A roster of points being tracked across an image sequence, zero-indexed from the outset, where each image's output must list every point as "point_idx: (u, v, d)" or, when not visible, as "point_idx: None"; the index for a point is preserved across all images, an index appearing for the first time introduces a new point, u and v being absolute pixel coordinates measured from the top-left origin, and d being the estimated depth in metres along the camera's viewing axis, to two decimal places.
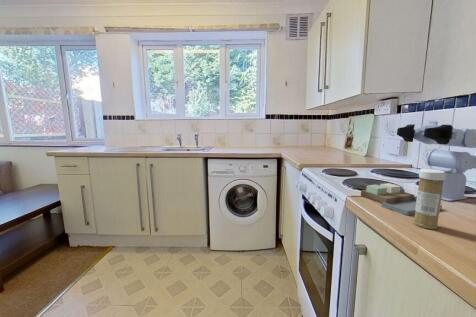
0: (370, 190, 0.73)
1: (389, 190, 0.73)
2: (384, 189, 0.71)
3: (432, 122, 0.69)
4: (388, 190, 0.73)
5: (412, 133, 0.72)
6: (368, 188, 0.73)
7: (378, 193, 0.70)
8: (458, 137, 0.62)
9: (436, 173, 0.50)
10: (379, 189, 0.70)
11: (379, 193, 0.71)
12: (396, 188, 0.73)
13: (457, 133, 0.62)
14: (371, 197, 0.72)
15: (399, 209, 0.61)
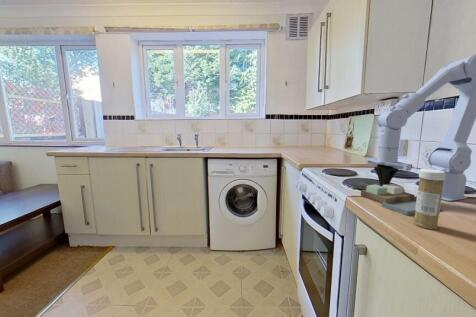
0: (370, 190, 0.73)
1: (392, 191, 0.72)
2: (384, 189, 0.71)
3: None
4: (391, 191, 0.72)
5: None
6: (368, 188, 0.73)
7: (378, 193, 0.70)
8: (410, 167, 0.69)
9: (436, 173, 0.50)
10: (379, 189, 0.70)
11: (379, 193, 0.71)
12: (399, 189, 0.72)
13: (407, 170, 0.69)
14: (371, 197, 0.72)
15: (399, 209, 0.61)
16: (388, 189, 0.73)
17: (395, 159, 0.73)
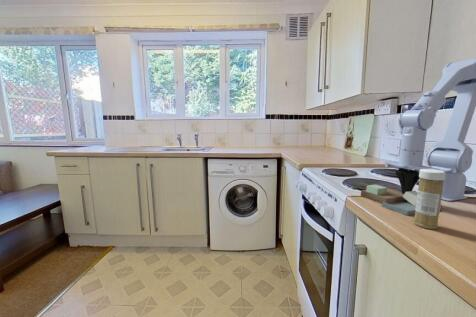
0: (370, 190, 0.73)
1: (413, 202, 0.66)
2: (384, 189, 0.71)
3: (401, 167, 0.67)
4: (412, 202, 0.66)
5: None
6: (368, 188, 0.73)
7: (378, 193, 0.70)
8: None
9: (436, 173, 0.50)
10: (379, 189, 0.70)
11: (379, 193, 0.71)
12: None
13: None
14: (371, 197, 0.72)
15: (399, 209, 0.61)
16: (409, 199, 0.67)
17: (420, 163, 0.66)
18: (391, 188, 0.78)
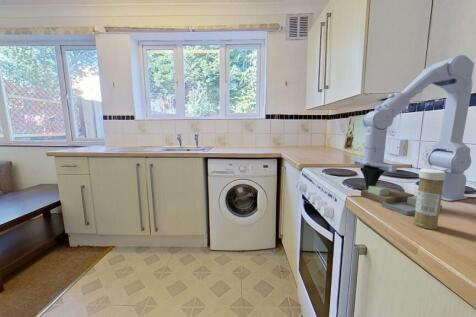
0: (372, 191, 0.72)
1: None
2: (386, 190, 0.70)
3: (364, 164, 0.72)
4: None
5: None
6: (370, 189, 0.72)
7: (380, 194, 0.70)
8: (395, 168, 0.67)
9: (436, 173, 0.50)
10: (381, 190, 0.70)
11: (381, 194, 0.70)
12: None
13: (392, 171, 0.67)
14: (371, 197, 0.72)
15: (399, 209, 0.61)
16: (414, 203, 0.66)
17: (381, 160, 0.71)
18: (391, 188, 0.78)
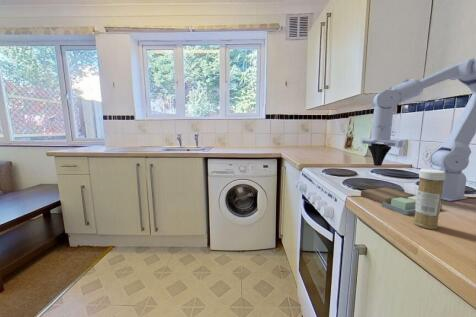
0: (396, 204, 0.65)
1: None
2: (412, 204, 0.63)
3: (372, 141, 0.78)
4: None
5: None
6: (393, 202, 0.65)
7: (406, 208, 0.62)
8: (402, 144, 0.72)
9: (436, 173, 0.50)
10: (407, 203, 0.62)
11: (407, 208, 0.63)
12: None
13: (399, 146, 0.72)
14: (371, 197, 0.72)
15: (399, 209, 0.61)
16: None
17: (388, 137, 0.76)
18: (391, 188, 0.78)
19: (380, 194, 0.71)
